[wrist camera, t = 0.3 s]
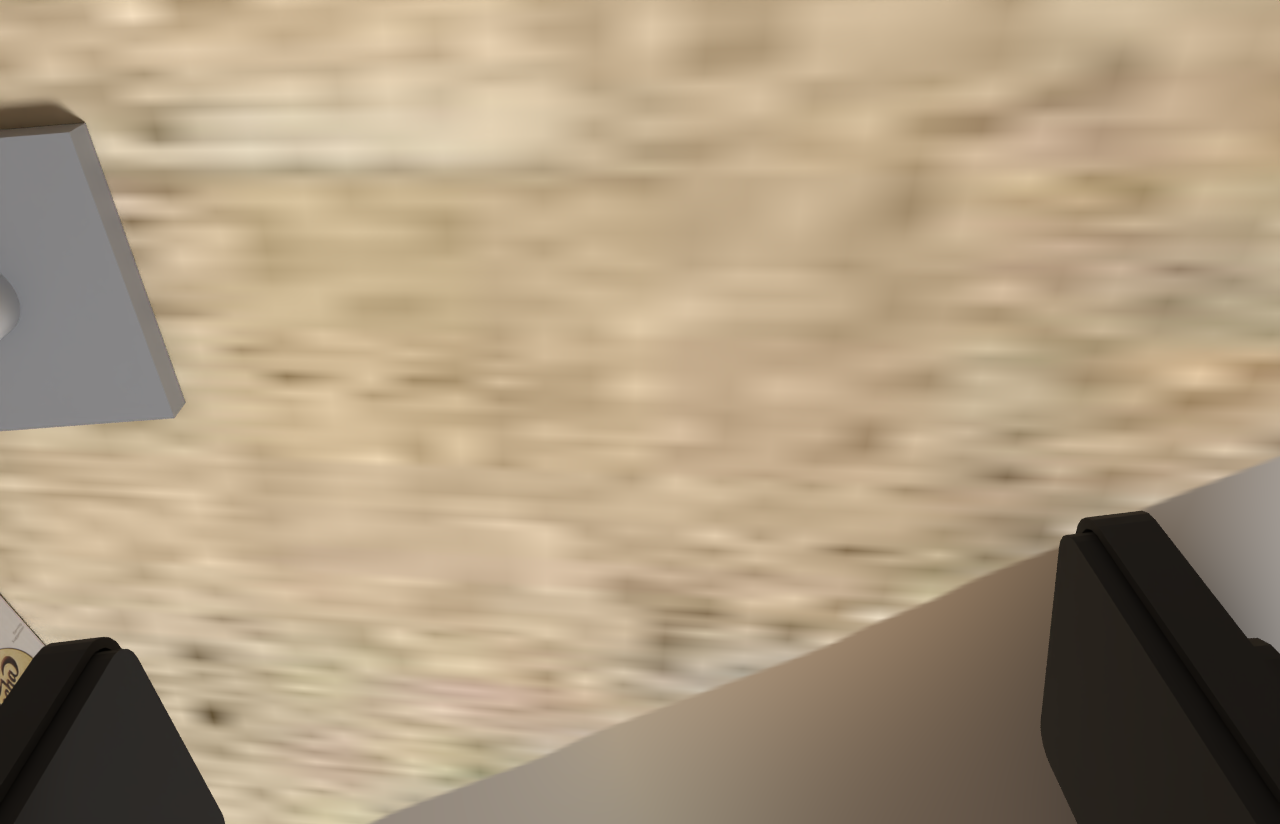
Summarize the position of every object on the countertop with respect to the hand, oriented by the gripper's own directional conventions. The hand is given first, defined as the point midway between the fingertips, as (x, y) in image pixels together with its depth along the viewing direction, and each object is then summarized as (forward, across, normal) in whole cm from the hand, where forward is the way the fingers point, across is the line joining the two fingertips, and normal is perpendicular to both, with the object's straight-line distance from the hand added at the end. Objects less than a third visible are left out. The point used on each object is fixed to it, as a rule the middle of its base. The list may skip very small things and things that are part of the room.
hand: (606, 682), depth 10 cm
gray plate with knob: (+36, +30, +7) cm, 48 cm away
